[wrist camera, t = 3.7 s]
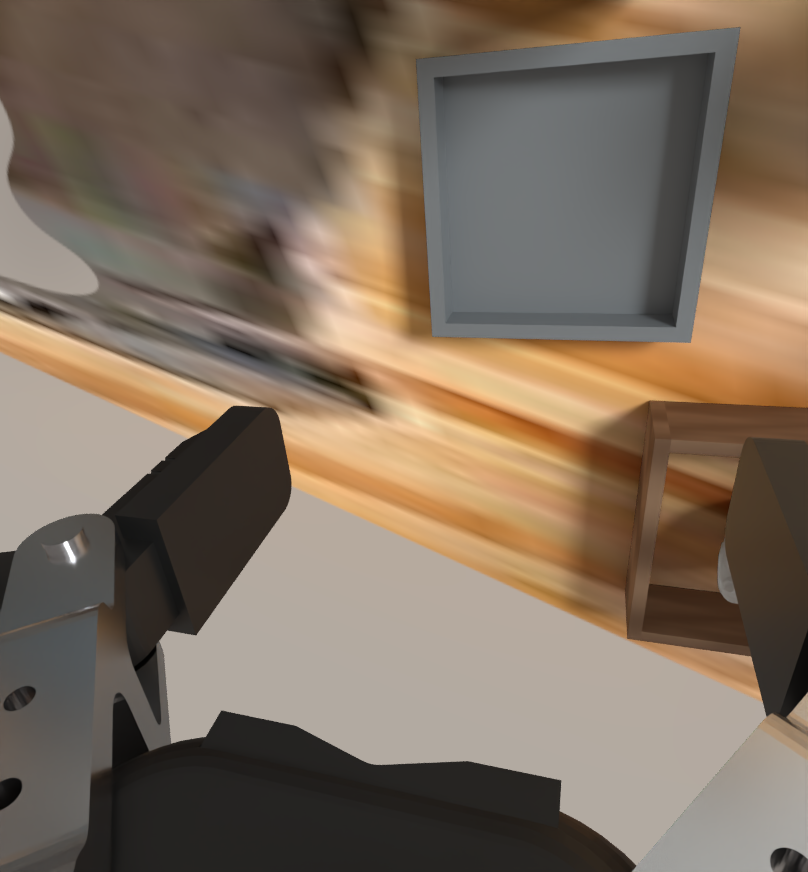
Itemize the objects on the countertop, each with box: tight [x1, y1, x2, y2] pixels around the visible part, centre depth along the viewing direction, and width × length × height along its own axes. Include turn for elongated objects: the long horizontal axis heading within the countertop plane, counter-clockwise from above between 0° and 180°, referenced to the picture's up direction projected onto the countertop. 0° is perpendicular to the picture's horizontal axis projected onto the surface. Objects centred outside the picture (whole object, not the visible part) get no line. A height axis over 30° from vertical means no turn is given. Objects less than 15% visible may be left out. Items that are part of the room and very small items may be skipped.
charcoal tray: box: [416, 27, 740, 343], centre depth 32 cm, size 14×14×3 cm
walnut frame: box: [625, 401, 808, 656], centre depth 37 cm, size 15×15×4 cm
